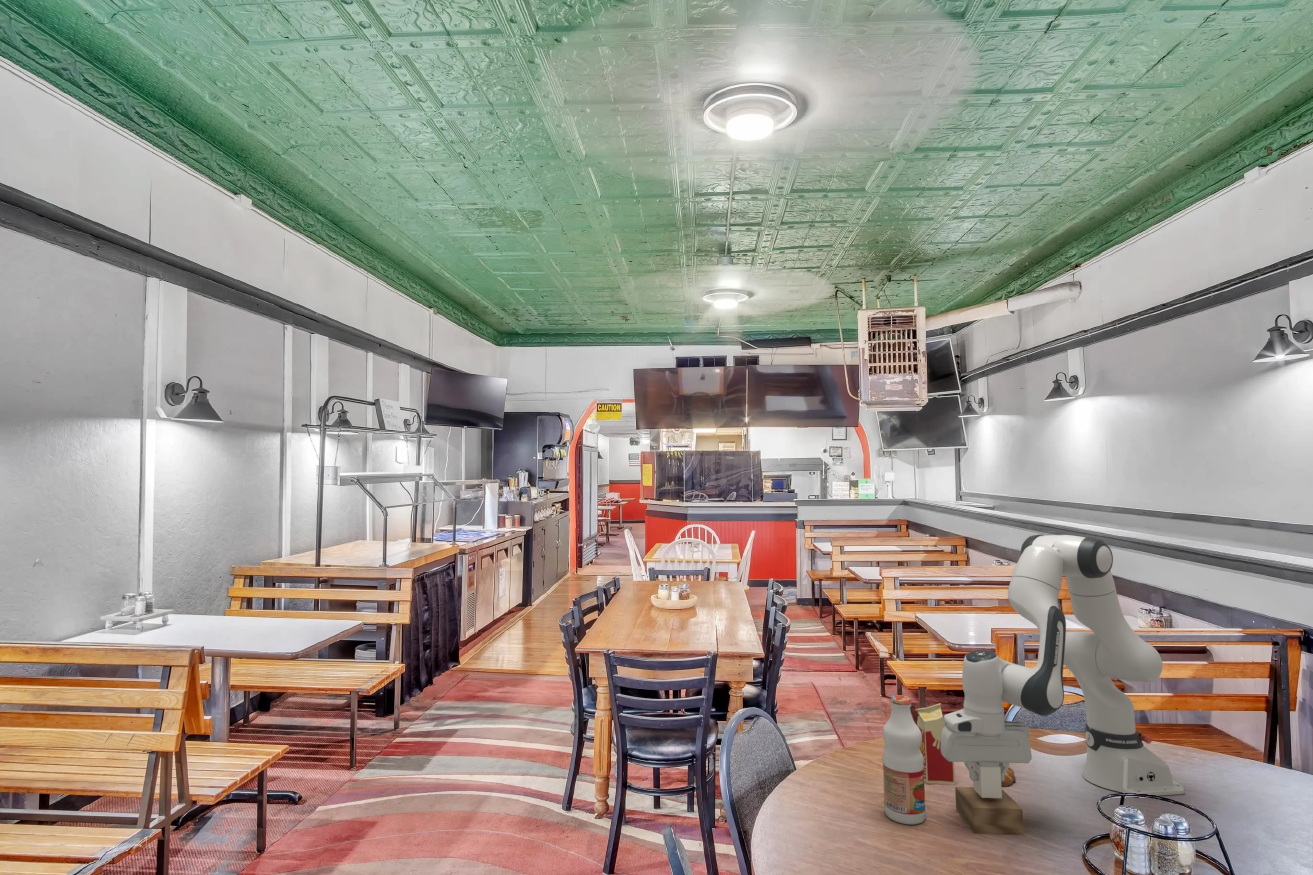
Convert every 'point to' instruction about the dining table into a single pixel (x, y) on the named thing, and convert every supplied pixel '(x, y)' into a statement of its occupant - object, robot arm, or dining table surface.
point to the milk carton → (934, 747)
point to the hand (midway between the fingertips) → (986, 780)
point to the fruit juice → (903, 765)
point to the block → (989, 812)
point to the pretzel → (1007, 777)
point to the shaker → (988, 779)
